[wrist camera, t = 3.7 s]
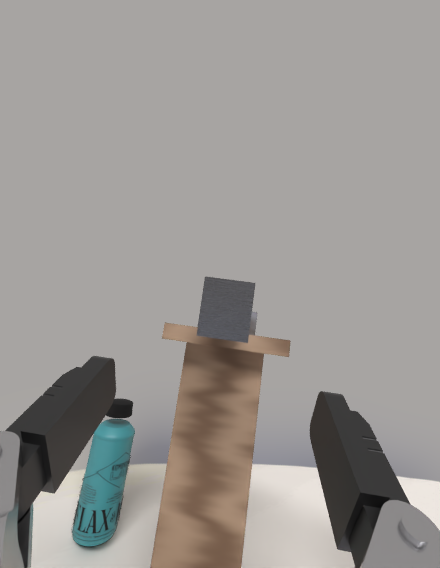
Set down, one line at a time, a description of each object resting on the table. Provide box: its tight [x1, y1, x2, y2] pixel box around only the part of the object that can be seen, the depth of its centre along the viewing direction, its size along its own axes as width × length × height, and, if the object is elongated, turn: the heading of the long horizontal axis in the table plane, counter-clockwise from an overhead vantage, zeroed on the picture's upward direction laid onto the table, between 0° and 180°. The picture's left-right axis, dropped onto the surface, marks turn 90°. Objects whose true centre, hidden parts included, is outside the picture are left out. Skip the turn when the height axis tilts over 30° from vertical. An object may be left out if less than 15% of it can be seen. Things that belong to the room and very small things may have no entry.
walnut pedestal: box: [150, 312, 290, 568], centre depth 28 cm, size 18×16×36 cm
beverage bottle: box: [72, 399, 135, 546], centre depth 42 cm, size 6×7×20 cm
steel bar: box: [196, 277, 255, 343], centre depth 24 cm, size 3×18×4 cm, turn 178°
